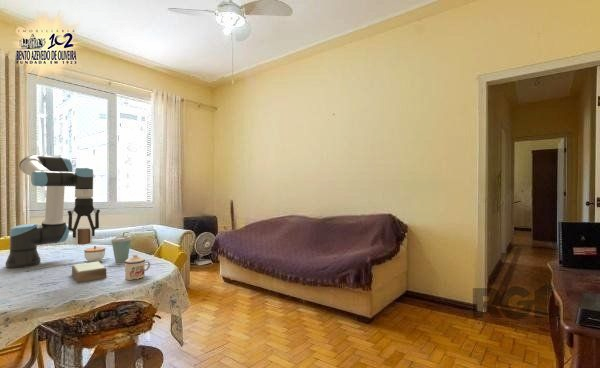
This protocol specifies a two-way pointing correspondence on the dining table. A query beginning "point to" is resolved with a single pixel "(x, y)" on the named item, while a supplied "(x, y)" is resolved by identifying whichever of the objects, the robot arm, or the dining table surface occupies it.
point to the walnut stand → (88, 271)
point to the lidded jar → (94, 254)
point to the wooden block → (83, 236)
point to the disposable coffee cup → (121, 248)
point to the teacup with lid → (135, 267)
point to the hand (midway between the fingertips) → (83, 243)
